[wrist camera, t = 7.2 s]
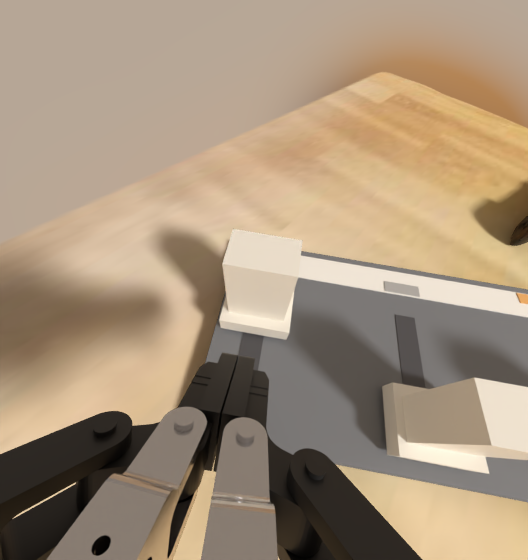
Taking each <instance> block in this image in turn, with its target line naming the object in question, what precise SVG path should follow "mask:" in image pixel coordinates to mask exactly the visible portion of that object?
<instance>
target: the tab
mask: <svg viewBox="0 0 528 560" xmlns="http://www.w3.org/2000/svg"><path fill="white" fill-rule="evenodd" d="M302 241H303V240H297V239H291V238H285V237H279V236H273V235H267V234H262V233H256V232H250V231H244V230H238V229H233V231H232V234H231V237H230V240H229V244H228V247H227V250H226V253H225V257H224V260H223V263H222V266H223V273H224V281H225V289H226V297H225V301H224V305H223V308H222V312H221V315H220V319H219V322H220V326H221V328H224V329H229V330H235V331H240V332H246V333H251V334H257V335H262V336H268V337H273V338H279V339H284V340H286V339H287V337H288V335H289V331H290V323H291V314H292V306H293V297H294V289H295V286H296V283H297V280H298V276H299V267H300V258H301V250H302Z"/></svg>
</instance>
